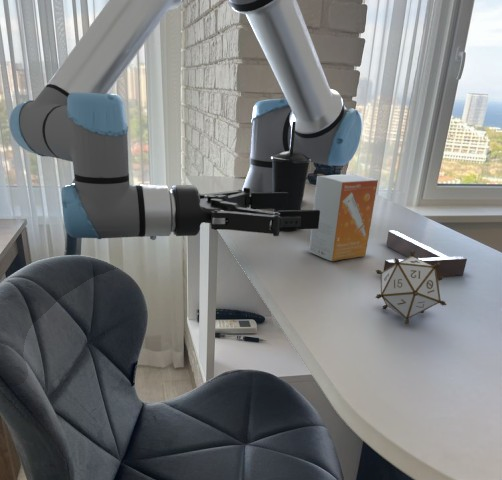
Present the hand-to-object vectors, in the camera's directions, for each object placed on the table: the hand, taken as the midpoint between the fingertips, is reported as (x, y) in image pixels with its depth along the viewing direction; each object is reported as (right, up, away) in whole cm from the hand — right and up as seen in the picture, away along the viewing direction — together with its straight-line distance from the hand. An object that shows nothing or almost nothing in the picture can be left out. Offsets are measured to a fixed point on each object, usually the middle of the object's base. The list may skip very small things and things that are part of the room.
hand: (301, 209), depth 82 cm
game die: (+11, -18, -17) cm, 28 cm away
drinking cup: (-1, +1, +20) cm, 20 cm away
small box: (+7, -7, +6) cm, 11 cm away
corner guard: (+17, -8, +4) cm, 19 cm away
